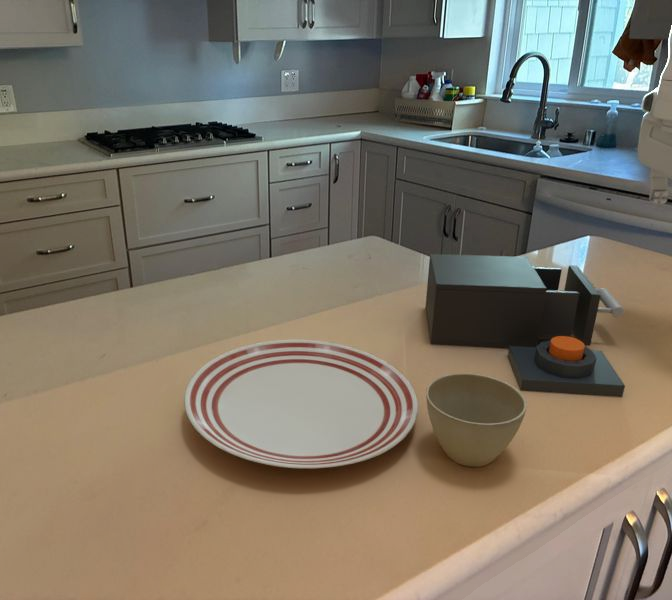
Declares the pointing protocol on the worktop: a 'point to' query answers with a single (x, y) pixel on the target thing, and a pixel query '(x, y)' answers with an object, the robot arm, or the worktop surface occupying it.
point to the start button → (566, 348)
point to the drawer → (572, 304)
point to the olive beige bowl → (474, 416)
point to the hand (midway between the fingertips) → (669, 211)
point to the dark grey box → (483, 301)
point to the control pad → (564, 372)
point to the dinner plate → (301, 404)
